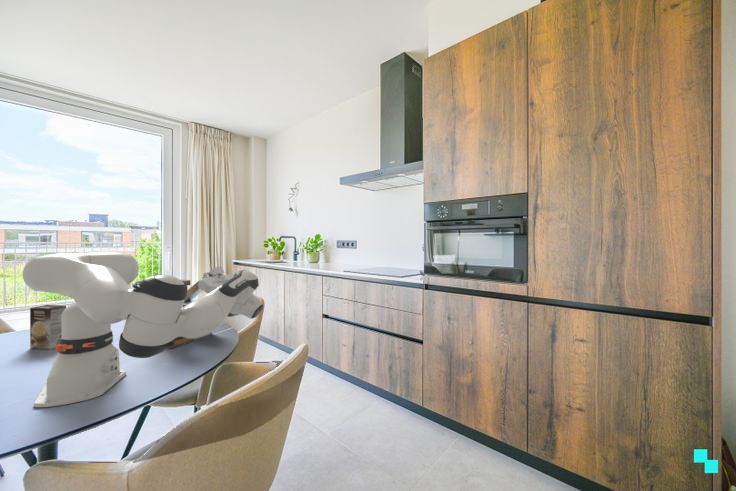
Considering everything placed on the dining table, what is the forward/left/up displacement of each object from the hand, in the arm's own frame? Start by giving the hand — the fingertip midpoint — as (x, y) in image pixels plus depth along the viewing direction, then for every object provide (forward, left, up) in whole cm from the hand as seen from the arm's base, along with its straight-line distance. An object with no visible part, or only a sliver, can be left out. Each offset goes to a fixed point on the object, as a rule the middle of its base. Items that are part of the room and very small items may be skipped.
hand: (210, 273), depth 135 cm
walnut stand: (0, +17, -28) cm, 33 cm away
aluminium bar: (+3, +3, -7) cm, 8 cm away
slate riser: (+6, +6, -28) cm, 30 cm away
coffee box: (+15, +58, -29) cm, 66 cm away
